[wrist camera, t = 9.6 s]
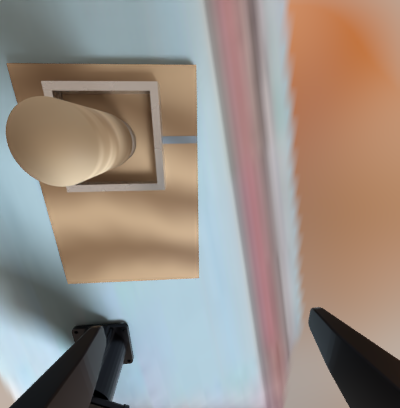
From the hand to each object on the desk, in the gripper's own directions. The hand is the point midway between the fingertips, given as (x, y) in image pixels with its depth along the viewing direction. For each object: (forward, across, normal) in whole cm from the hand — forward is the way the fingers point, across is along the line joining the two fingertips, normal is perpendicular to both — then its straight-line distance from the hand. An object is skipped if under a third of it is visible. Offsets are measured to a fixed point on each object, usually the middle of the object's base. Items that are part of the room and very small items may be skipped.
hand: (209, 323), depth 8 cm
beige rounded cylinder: (+12, +7, -8) cm, 15 cm away
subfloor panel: (+12, +7, -3) cm, 14 cm away
